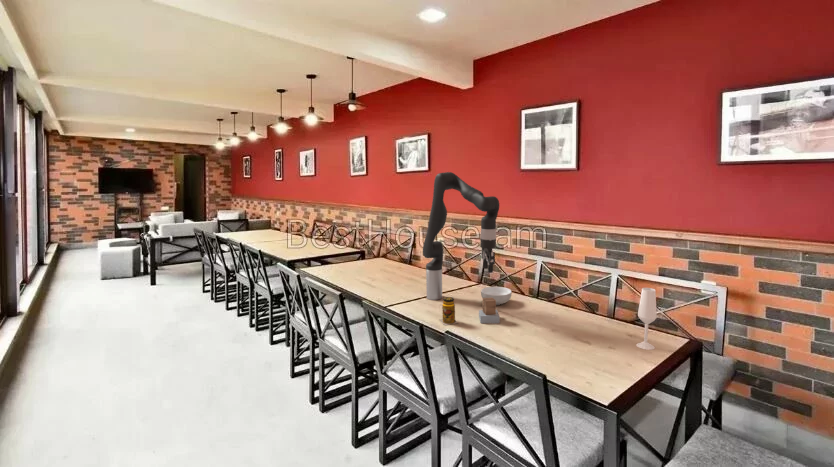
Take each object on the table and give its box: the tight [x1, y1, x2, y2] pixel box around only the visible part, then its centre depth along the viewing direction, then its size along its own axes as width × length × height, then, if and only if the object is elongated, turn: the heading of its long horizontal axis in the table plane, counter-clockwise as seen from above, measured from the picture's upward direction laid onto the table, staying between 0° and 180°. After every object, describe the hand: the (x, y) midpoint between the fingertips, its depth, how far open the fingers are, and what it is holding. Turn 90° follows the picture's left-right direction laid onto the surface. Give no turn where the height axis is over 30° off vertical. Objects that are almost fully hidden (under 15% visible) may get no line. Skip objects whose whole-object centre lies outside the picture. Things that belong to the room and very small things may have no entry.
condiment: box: [438, 296, 459, 326], centre depth 204 cm, size 7×8×12 cm
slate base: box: [478, 309, 500, 324], centre depth 205 cm, size 9×9×4 cm
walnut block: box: [482, 298, 497, 315], centre depth 204 cm, size 5×5×7 cm
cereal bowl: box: [480, 286, 512, 306], centre depth 232 cm, size 17×17×7 cm
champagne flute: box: [635, 287, 658, 351], centre depth 169 cm, size 7×7×24 cm
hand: (487, 270), depth 205 cm, fingers open, 8 cm apart
